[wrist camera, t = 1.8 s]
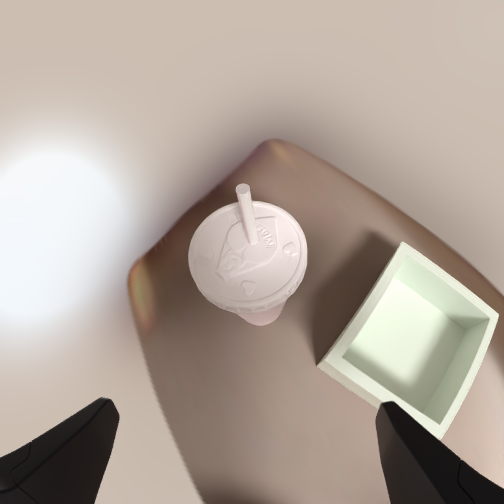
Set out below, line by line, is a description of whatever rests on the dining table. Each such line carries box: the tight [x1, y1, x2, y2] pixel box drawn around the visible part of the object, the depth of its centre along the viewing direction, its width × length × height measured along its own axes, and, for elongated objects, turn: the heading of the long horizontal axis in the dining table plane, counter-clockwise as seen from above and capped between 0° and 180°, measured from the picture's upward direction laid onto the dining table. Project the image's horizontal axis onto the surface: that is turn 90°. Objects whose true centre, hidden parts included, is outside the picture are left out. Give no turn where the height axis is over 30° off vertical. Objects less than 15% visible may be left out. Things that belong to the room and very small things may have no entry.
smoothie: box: [188, 184, 307, 326], centre depth 18 cm, size 6×6×14 cm
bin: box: [317, 241, 499, 440], centre depth 19 cm, size 11×11×4 cm
